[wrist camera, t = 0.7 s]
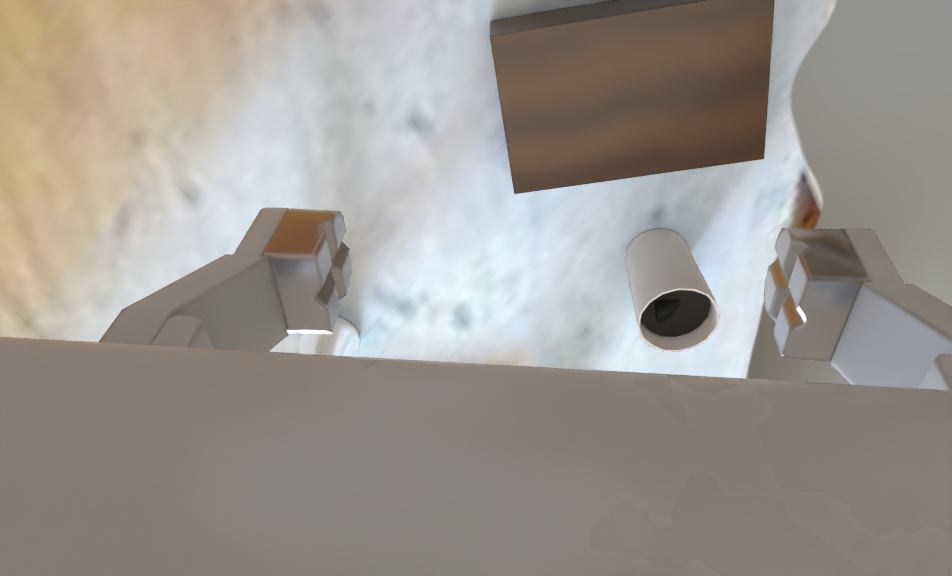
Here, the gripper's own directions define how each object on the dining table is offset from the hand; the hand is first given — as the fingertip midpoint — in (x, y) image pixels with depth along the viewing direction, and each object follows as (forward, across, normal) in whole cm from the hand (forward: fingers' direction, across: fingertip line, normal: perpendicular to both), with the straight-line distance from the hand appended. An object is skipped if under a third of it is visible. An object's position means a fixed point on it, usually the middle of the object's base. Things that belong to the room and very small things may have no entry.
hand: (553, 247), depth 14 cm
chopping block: (+45, -6, +16) cm, 48 cm away
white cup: (+44, -10, +33) cm, 56 cm away
